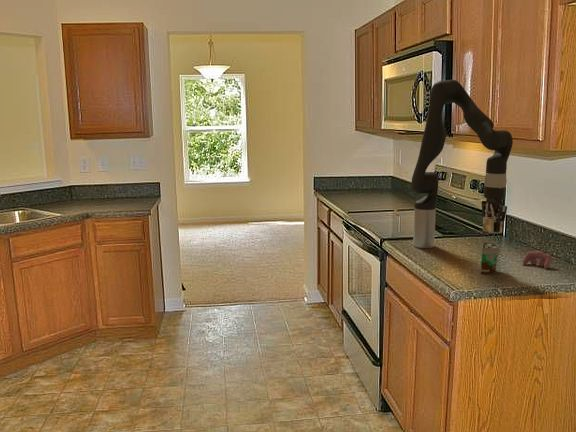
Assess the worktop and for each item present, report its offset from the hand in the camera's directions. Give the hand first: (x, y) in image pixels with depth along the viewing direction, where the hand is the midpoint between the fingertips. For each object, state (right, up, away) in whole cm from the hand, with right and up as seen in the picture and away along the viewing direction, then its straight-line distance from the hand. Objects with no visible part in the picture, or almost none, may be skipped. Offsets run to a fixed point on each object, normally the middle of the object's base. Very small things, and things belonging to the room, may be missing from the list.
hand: (492, 230), depth 208 cm
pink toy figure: (+21, -14, +10) cm, 27 cm away
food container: (0, -16, +3) cm, 16 cm away
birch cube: (0, -1, 0) cm, 0 cm away
